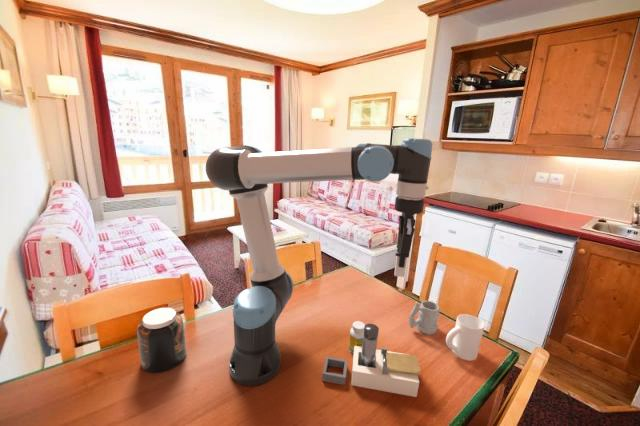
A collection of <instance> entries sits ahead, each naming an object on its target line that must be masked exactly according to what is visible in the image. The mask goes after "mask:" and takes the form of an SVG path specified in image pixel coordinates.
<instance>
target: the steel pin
mask: <svg viewBox="0 0 640 426" xmlns="http://www.w3.org/2000/svg"><path fill="white" fill-rule="evenodd" d="M379 332H380V331H379V326H378V325H376V324H373V323H366V324H365V327H364V336H363V345H362V354H361V363H360V366H366V367H372V368H374V363H375V355H376V349H377V345H378V338H379Z"/></svg>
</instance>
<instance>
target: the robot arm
mask: <svg viewBox="0 0 640 426" xmlns="http://www.w3.org/2000/svg"><path fill="white" fill-rule="evenodd" d="M432 151H433V142H432V140H430V139H426V138H425V139H424V138H411V137H410V138H408V137H407V138H406V137H405V138H404V139H403V140H402V143H401V144H399V145H397V144H396V145H393V144H379V143H369V142H368V143H359V144H357V145H356V146H351V147H350V146H349V147H348V146H347V147H336V148H334V147H332V148H318V149H317V148H315V149H303V150H300V149H299V150H286V151H270V152H263V151H262V150H260V149H259V148H257V147H255V146H250V145H237V146H236V145H235V146H224V147H219V148H216V149H215V150H214V151H212V152H211V153H210V155H208V157H207V159H206V162H205V173H206V176H207V179H208V180H209V182H210V183H211V184H212V185H214V187H216V188H218V189H221V190H223V191H228V192H229V195H230V196H231V197H232V198H234V199H235V200H236V204H237V208H238V211H239V217H240V221H241V224H242V230H243V233H244V238H245V241H246V245H247V246H246V247H247V250H248V254H249V258H250V264H251V267H252V272H251V273H250V275H249V279H250V285H251V286H250V287H249V288H245V289H244V290H242V291H240V292H239V293H238V295H236V297H235V299H234V301H233V308H232V318H233V335H234V336H233V337H234V345H233V349H232V352H231V354H230V358H229V360H228V368H229V369H228V370H229V374H230V376H231V379H232V380H233V381H235V382H236V383H238V384H240V385H243V386H249V387H251V386H252V387H253V386H259V385H263V384H265V383H267V382H269V381H270V380H272V379H273V378H274V377H275V376H276V375H277V373H278V372H279V370H280V368H281V363H282V362H281V360H282V359H281V358H282V354H281V351H280V350H279V346H278V345H277V342H276V323H277V321H278V319H279V317H280V315H281V314H282V312H283V311H284V309H285V307H286V305H287V303H288V302H289V300H291V297H292V294H293V290H294V281H293V278H292V276H291V275H290V274H289V273H288V272H287V271H286V267H285V266H284V265H282V264H280V261H279V256H278V253H277V252H278V251H277V248H276V242H275V238H274V233H273V229H272V225H271V224H272V223H271V220H270V215H269V210H268V205H267V200H266V197H265V196H266V195H265V193H266V191H267V190H268V188H269V187H268V184H285V183H290V184H291V183H306V182H307V183H309V182H333V181H361V180H362V181H363V180H366V181H369V182H374V183H375V182H381V181H383V180H385V179H386V178H387V177H389V175H392V174H393V175H398V178H397V183H396V190H395V194H396V195H397V196H395V200H394V210H395V211H397V212H399V213H401V215H399V216H398V222H399V223H398V233H397V244H396V253H395V257H396V259H395V266H394V273H393V274H394V277H398V278H399V277H400V278H402V277H403V278H404V277H405V275H406V267H407V262H408V261H407V260H408V258H410V252H411V247H412V242H413V238H414V233H415V231H416V229H415V226H416V219H415V215H419V214H422V213H423V212H424V211H423V210H424V205H425V199H424V198H425V197H426V191H427V190H429V187H430V186H429V185H427V183H428V178H429V172H430V167H431V161H432Z"/></svg>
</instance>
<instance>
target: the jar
mask: <svg viewBox="0 0 640 426" xmlns="http://www.w3.org/2000/svg"><path fill="white" fill-rule="evenodd" d="M136 333H137V334H136V335H137V343H138V351H139V357H140V364H141V368H142V369H143V370H144V371H145V372H147V373H152V374H158V373H164V372H167V371H170V370H172V369H174V368H175V367H177V366H179V365H180V364H181V363H182V362H183V361H184V360H185V358H186V356H187V347H186V336H185V325H184V319H183V316H182V315H181V314H180V313H179V312H176V309H174V308H173V307H159V308H155V309H153V310H151V311H149V312H147V313H146V314H145V315H144V316H143V317H142V320H141V321H140V322H139V323H138V325H137V329H136Z"/></svg>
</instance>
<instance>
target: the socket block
mask: <svg viewBox="0 0 640 426" xmlns="http://www.w3.org/2000/svg"><path fill="white" fill-rule="evenodd" d="M383 352H385V353H386V352H388V353H397V354H404V353H402V352H397V351H396V352H395V351H390V350H388V347H386V346H382V347H381V349H377V348H376V355H375V363H374V368H372V367H366V366H360V363H361V354H362V347H359V346H354V354H352V356H353V357H352V370H351V379H350V380H351V384H350V386H353V387H354V386H355V387H360V388H365V389H371V390H376V391H380V392H381V391H382V392H387V393H392V394H398V395H403V396H408V397H414V398H418V397H417V396H418V391H419V385H420V380H419V376H418V374H416V373H407V372H398V371H389V367H384V366H383ZM406 354H407V355H410V354H408V353H406Z"/></svg>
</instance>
